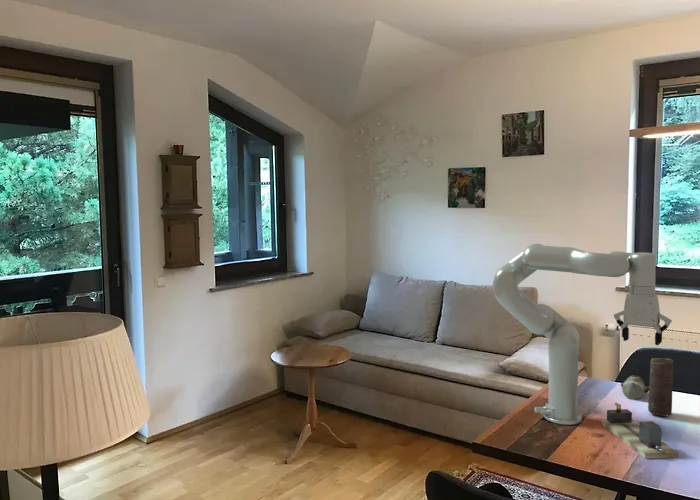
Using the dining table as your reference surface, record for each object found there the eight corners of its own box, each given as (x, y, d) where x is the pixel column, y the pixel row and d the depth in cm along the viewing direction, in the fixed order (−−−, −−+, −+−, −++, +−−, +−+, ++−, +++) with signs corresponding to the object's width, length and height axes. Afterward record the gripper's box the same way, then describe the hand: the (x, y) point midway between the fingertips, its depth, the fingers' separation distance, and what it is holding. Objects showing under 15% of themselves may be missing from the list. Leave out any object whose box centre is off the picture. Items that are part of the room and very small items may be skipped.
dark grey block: (669, 453, 168) (670, 433, 167) (656, 453, 168) (657, 433, 167) (651, 439, 177) (652, 421, 177) (639, 440, 177) (639, 421, 177)
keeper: (631, 422, 191) (632, 406, 191) (611, 423, 191) (611, 407, 190) (625, 418, 195) (625, 402, 195) (605, 418, 195) (605, 402, 194)
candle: (670, 420, 197) (673, 363, 195) (647, 416, 200) (648, 360, 199) (672, 413, 203) (674, 357, 201) (648, 409, 207) (650, 355, 205)
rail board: (677, 457, 169) (678, 451, 169) (644, 458, 169) (645, 453, 168) (630, 422, 195) (630, 418, 195) (601, 423, 194) (601, 419, 194)
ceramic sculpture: (617, 375, 218) (622, 368, 230) (616, 398, 218) (621, 389, 231) (648, 380, 212) (652, 372, 225) (647, 403, 212) (651, 394, 225)
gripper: (610, 289, 189) (610, 340, 191) (668, 294, 177) (667, 348, 179) (618, 287, 195) (617, 336, 196) (675, 291, 183) (674, 343, 184)
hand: (641, 342), depth 188 cm, fingers open, 9 cm apart
